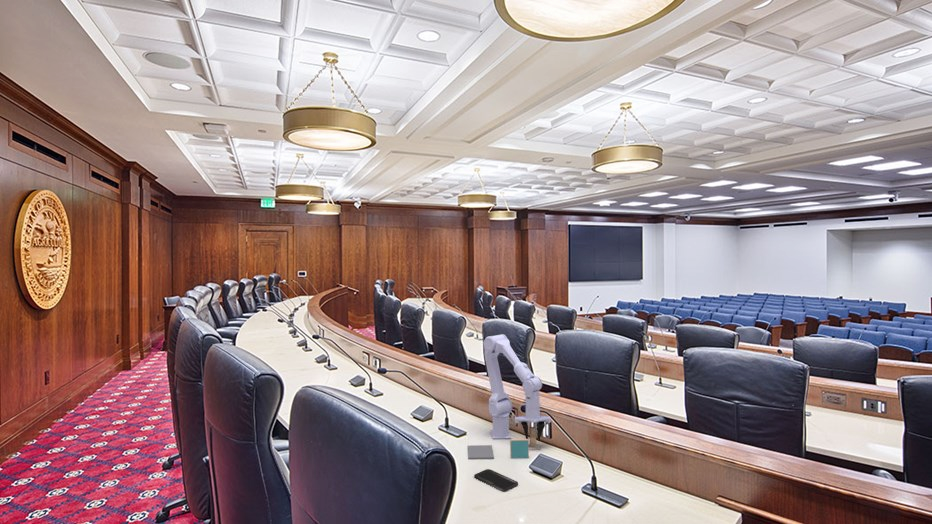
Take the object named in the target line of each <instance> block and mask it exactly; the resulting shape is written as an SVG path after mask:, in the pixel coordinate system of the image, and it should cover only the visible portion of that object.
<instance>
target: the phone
mask: <svg viewBox="0 0 932 524" xmlns="http://www.w3.org/2000/svg"><path fill="white" fill-rule="evenodd" d="M473 478H474V479H475V478H476V480H477V479H478V480H477V481H479V480H480V481H479V482H481V481H482V482H481V483H483V482H484V483H483V484H485V483H486V484H485V485H487V486H489V485H490V486H489V487H491V486H492V487H491V488H493V487H494V489H495V488H496V489H495V490H497V491H499V492H502V493H506V492H508V491H511V490H512V489H514V488H516V487H518V486H519V482H518V481H517V480H515V479H512V478H510V477H508V476H506V475H504V474H501V473H499V472H497V471H494V470H493V469H490V468H486V469H484V470H482V471H480V472H477V473H475V474H473Z"/></svg>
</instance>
